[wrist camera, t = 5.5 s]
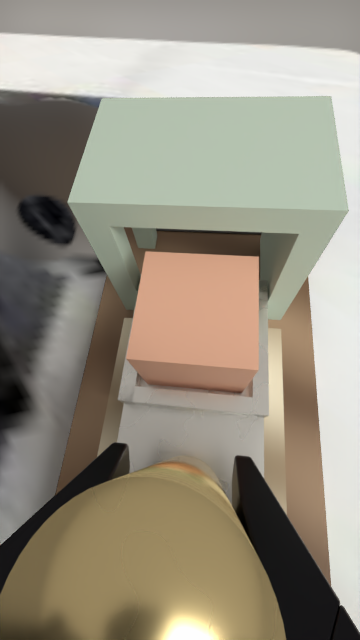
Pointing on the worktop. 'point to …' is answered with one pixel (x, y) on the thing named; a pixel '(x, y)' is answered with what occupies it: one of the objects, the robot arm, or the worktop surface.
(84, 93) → the worktop surface
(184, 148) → the tunnel
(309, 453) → the track board
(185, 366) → the terracotta block
